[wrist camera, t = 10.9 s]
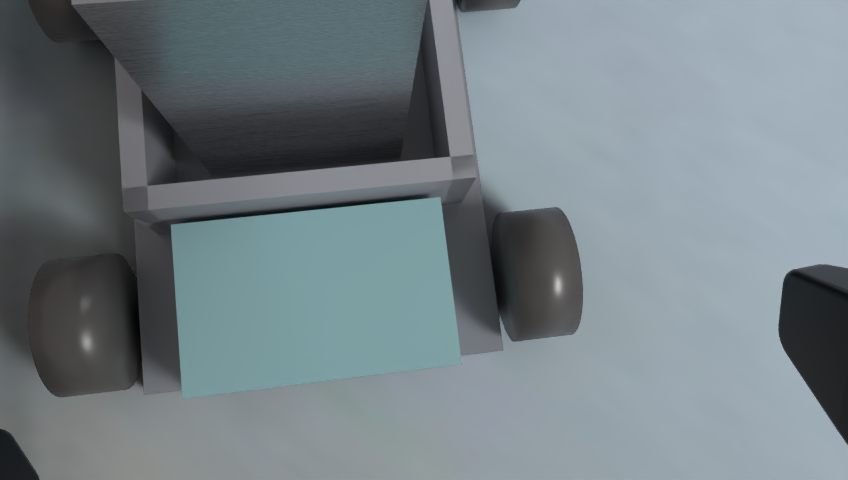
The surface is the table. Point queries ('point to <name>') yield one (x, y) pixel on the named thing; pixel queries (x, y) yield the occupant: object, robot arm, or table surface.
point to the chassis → (302, 255)
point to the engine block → (270, 75)
